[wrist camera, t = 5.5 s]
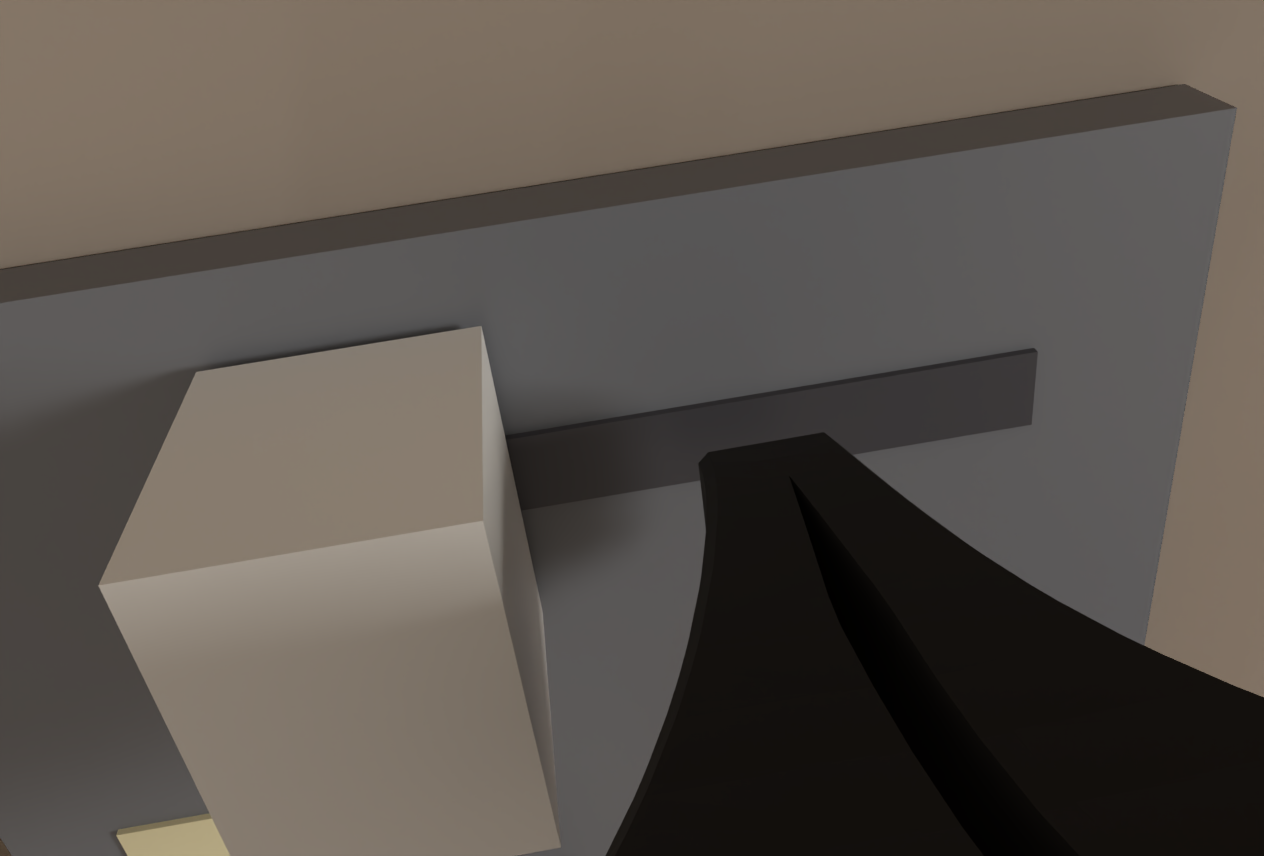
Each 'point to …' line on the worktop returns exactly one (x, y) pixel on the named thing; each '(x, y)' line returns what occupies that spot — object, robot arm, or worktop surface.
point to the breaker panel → (636, 403)
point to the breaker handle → (346, 606)
